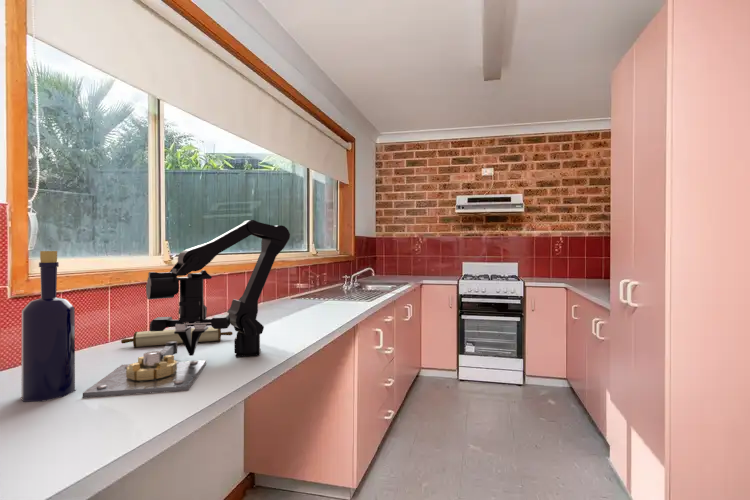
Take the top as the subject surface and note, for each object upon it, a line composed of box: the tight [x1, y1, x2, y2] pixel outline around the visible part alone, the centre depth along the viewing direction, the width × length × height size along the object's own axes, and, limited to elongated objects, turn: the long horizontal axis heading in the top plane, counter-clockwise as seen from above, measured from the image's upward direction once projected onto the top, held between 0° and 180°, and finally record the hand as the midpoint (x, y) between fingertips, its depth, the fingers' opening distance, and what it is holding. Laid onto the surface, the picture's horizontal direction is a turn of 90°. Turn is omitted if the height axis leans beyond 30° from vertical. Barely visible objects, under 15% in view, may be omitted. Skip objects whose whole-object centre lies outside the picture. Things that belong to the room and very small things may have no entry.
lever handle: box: [126, 341, 178, 380], centre depth 99 cm, size 10×22×4 cm, turn 13°
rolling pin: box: [120, 326, 234, 349], centre depth 127 cm, size 32×6×5 cm, turn 110°
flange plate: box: [82, 350, 207, 399], centre depth 93 cm, size 20×20×6 cm
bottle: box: [20, 250, 77, 403], centre depth 83 cm, size 9×9×30 cm
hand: (191, 355), depth 105 cm, fingers closed
